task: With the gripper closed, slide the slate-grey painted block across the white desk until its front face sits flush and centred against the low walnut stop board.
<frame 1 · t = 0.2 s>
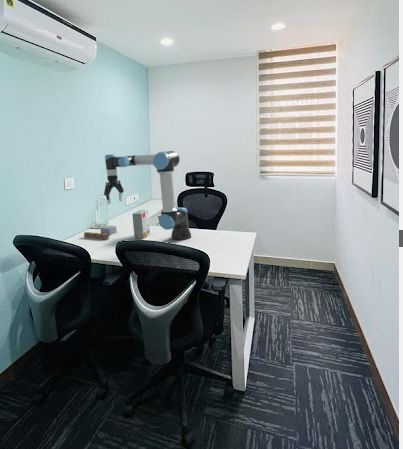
hand: (115, 202, 259), 28 cm above the table, fingers open, 13 cm apart
walnut stop board: (96, 238, 265), on the table
slate block: (109, 233, 278), on the table
hard drive box: (142, 236, 263), on the table
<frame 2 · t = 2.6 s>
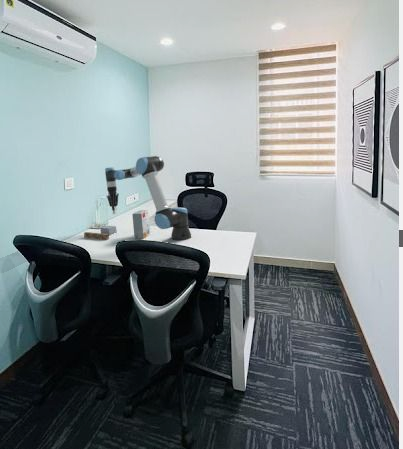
hand: (114, 213, 283), 15 cm above the table, fingers closed
nothing on the table moved.
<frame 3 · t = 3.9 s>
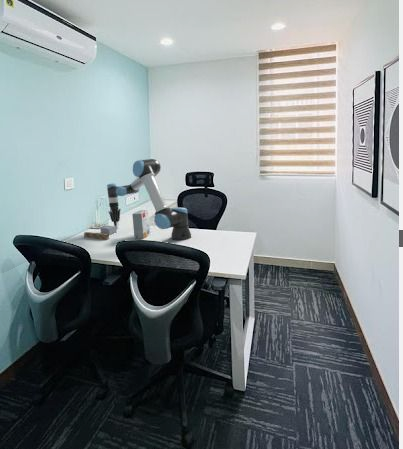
hand: (116, 229, 286), 1 cm above the table, fingers closed
nothing on the table moved.
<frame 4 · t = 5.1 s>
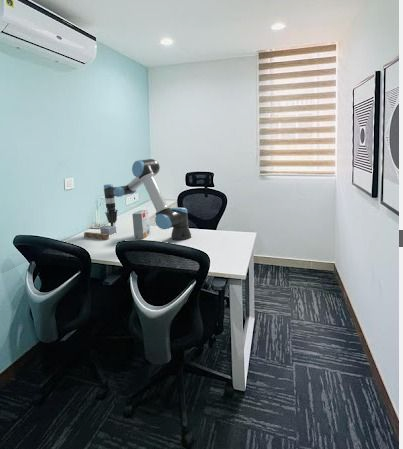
hand: (113, 230, 283), 1 cm above the table, fingers closed
slate block: (108, 233, 278), on the table, touching gripper
everything else where it was.
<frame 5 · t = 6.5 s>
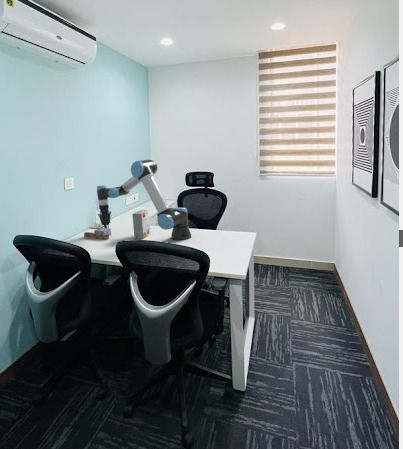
hand: (107, 232, 276), 2 cm above the table, fingers closed
slate block: (103, 236, 270), on the table, touching gripper
everything else where it was.
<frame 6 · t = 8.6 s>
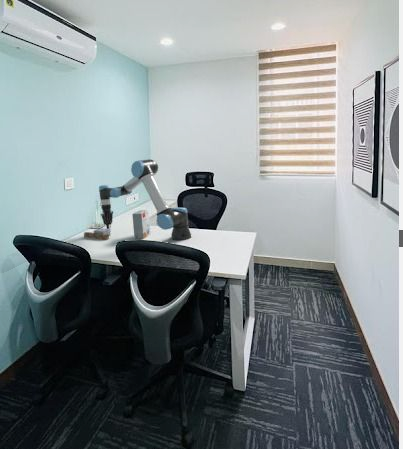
hand: (109, 231, 278), 1 cm above the table, fingers closed
slate block: (102, 236, 269), on the table
everything else where it was.
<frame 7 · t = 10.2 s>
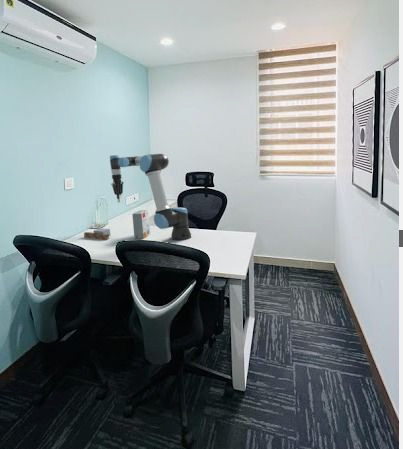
hand: (119, 202, 281), 24 cm above the table, fingers closed
nothing on the table moved.
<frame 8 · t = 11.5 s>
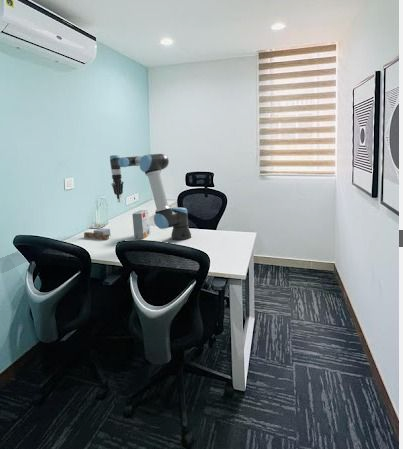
hand: (119, 202, 281), 24 cm above the table, fingers closed
nothing on the table moved.
at the end: slate block 1.4 cm from the target spot on the table beside the walnut stop board, on the table; slate block tilted 0° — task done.
